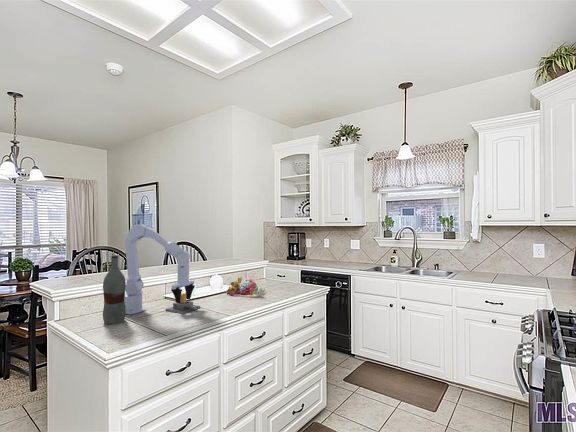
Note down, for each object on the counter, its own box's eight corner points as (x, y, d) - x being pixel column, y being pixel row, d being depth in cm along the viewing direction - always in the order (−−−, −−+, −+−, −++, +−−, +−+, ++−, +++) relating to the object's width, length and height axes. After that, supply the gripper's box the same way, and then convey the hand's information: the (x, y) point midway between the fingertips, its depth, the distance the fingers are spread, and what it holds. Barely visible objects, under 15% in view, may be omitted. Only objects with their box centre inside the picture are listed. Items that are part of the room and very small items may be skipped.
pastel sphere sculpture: (219, 296, 201) (219, 280, 201) (236, 288, 224) (236, 274, 224) (257, 298, 194) (257, 283, 194) (271, 290, 217) (271, 276, 217)
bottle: (100, 325, 144) (100, 257, 144) (105, 319, 153) (105, 255, 153) (123, 324, 146) (123, 256, 147) (127, 318, 155) (127, 254, 156)
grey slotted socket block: (187, 314, 161) (187, 307, 162) (165, 310, 167) (165, 304, 167) (203, 308, 172) (203, 301, 172) (182, 305, 178) (182, 298, 178)
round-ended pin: (183, 308, 168) (183, 294, 168) (178, 307, 169) (178, 294, 169) (187, 306, 171) (187, 293, 171) (182, 306, 172) (182, 292, 172)
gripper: (179, 277, 162) (179, 304, 162) (198, 272, 175) (198, 298, 175) (168, 276, 165) (168, 303, 165) (188, 272, 178) (188, 297, 178)
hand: (183, 300), depth 170 cm, fingers open, 7 cm apart
